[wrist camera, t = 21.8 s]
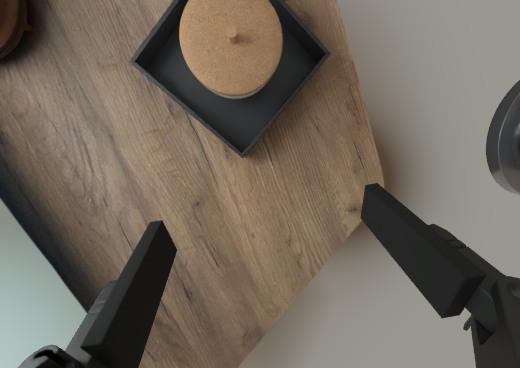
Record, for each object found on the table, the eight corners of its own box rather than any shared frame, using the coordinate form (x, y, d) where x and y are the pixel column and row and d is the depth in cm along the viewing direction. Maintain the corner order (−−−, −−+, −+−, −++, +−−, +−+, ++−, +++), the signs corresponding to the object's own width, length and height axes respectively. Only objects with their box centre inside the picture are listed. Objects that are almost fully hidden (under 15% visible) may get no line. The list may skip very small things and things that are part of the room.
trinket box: (183, 34, 27) (154, -19, 18) (260, 12, 27) (269, -51, 18) (210, 115, 30) (197, 104, 20) (280, 94, 30) (298, 74, 21)
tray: (321, 63, 30) (331, 53, 27) (242, 156, 32) (242, 158, 28) (224, -42, 26) (222, -68, 23) (141, 71, 28) (128, 61, 25)
